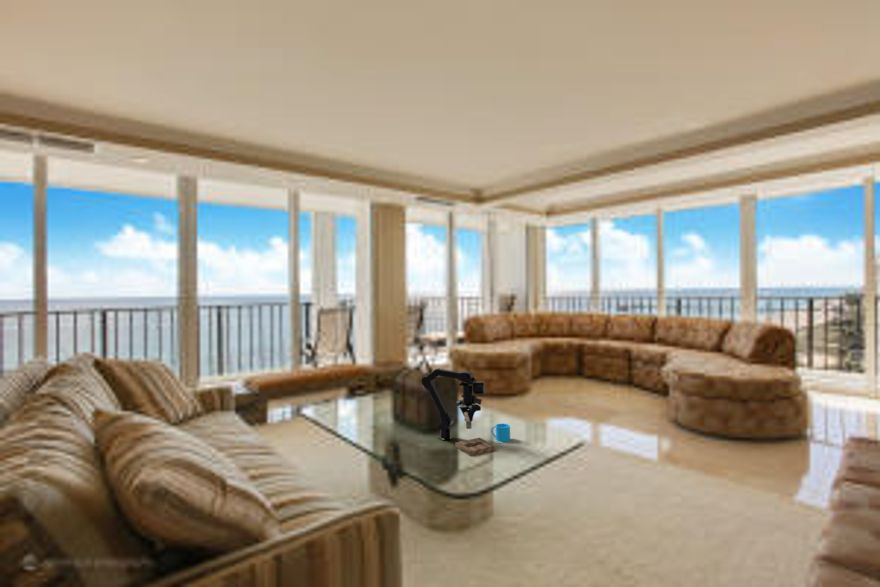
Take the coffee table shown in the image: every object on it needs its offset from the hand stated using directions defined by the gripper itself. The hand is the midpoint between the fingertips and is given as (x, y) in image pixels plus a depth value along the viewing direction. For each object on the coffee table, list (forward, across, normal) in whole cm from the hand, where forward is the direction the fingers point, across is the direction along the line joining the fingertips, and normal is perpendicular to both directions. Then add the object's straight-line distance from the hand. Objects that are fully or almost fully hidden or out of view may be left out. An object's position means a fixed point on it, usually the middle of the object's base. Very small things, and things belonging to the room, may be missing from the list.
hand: (468, 420), depth 242 cm
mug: (+12, -7, -17) cm, 22 cm away
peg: (+4, 0, 0) cm, 4 cm away
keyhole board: (+12, -13, +4) cm, 18 cm away
